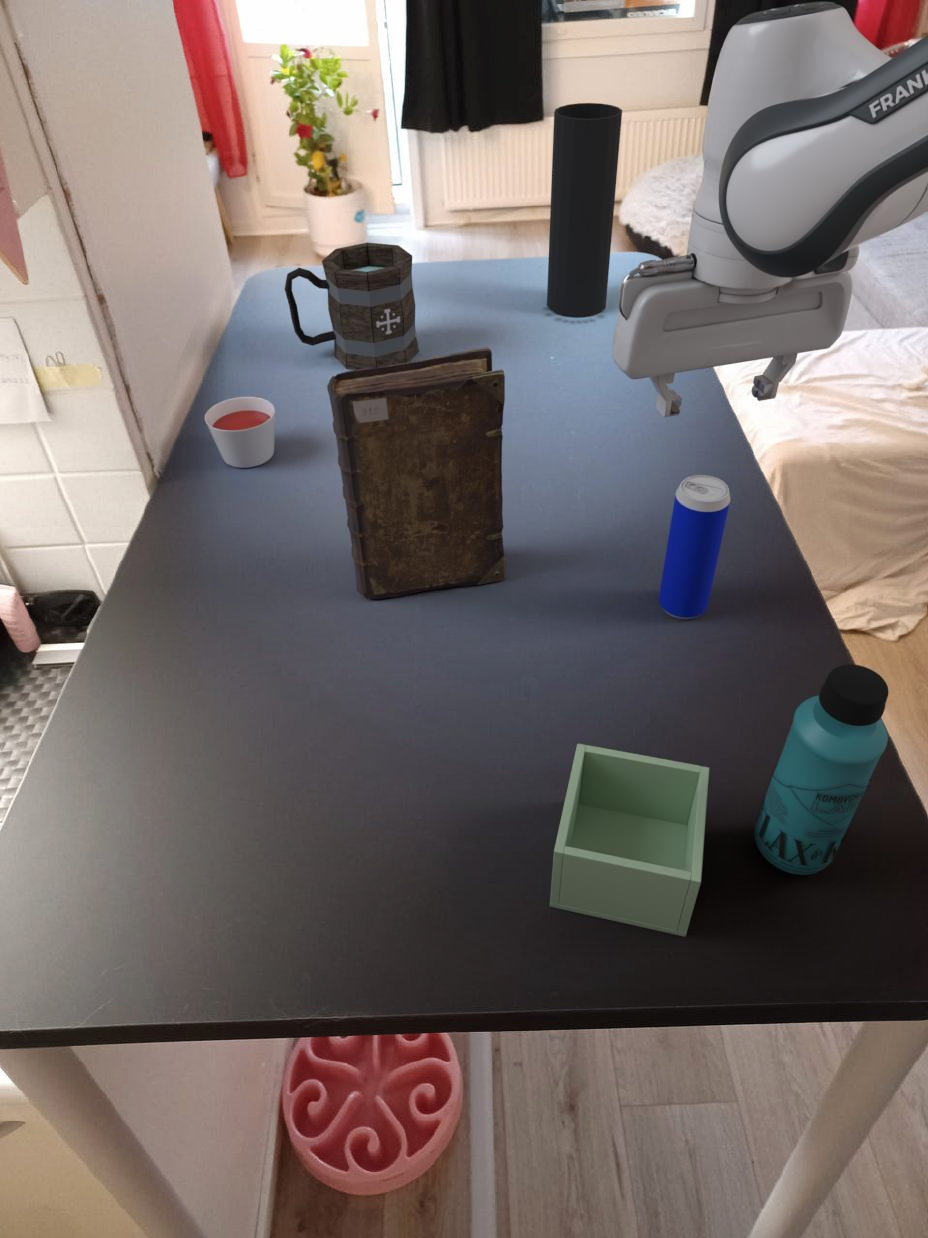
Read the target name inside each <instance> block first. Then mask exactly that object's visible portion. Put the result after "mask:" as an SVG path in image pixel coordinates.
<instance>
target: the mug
mask: <svg viewBox="0 0 928 1238" xmlns="http://www.w3.org/2000/svg"><path fill="white" fill-rule="evenodd" d="M321 264H322V268H323V271H324V272H323V273H324V276H325V279H321V278H320V277H318V276H317V275H316V274H315V273H313V272H312V271H311V270H308V269H305V268H302V267H297V268H295V269H293V270H292V271H290V272H288V273H287V274H286V280H285V284H284V292H285V296H286V299H287V303H288V306H289V307H288V308H289V312H290V318H291V319H290V320H291V322H292V326H293V331H294V332H295V335H296V336H297V337H298V339H299V340H300V342H301V343H303V344H306V345H309V346H313V347H314V346H317V345H319V344H322V343H326V342H331V341H334V342H333V344H334V345H333V346H334V347H333V350H334V351H333V353H334V357H335V359H337V361H338V362H339V363H340V364H341V365H342V366H343V367H344V368H345V369H346V370H351V371H353V370H358V369H365V368H378V367H384V366H390V365H396V364H402V363H408V362H412V360H413V359H414V357H415V356H416V355H417V354H418V352H419V351H420V349H419V345H418V340H417V331H416V300H415V293H414V288H413V272H412V271H413V255H412V254H411V253H410V252H409V251H407V250H406V249H404V248H403V247H401V246H400V245H399V244H389V243H377V242H363V243H358V244H353V245H348V246H343V247H338V248H335V249H334V250H332V252H330V253H329V254H327V256H325V258H323V259H322V260H321ZM298 277H301V278H303V279H306V280H308V281H309V282H310V283H311V284H312V285H313V286H314V287H317V289H321V290H323V289H324V290H327V308H328V309H327V311H328V314H329V315H328V316H329V319H330V322H331V327H332V330H331V331H327V332H322V333H319V334H317V335H314V336H312V335H311V336H310V335H308V334H305V332H304V330H303V329H302V327H301V322H300V321H301V320H300V316H299V310H298V305H297V302H296V299H295V295H294V293H293V280H295V279H297V278H298Z"/></svg>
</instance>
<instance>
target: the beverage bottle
mask: <svg viewBox="0 0 928 1238" xmlns="http://www.w3.org/2000/svg"><path fill="white" fill-rule="evenodd" d="M889 693H890V692H889V686H888V684H887V682H886V680H885V679H884V678H883V677H882V676H881V675H880V674H879V673H878V672H876V671H875V670H873V669H871V668H869V667H866V666H864V665H859V664H853V663H852V664H850V663H849V664H841V665H838V666H836V667H834V668H833V669H832V670H831V671H830V672H829V673H828V674H827V677H826V679H825V681H824V683H823V684H822V686H821V688H820V690H819V693H818V695H815V696H812V697H808V698H807V699H805V700H804V701H802V702H801V703H800V704H799V705H798V706H797V708H796V709H795V711H794V714H793V719H792V723H791V725H790V729H789V731H788V734H787V737H786V740H785V742H784V746H783V749H782V751H781V754H780V757H779V759H778V763H777V765H776V766H775V767H774V771H773V772H771V774H770V778H769V780H768V786H767V788H766V792H765V793H764V795H763V798H762V800H761V803H760V806H759V809H758V812H757V815H756V817H755V822H754V824H755V825H754V826H753V830H752V831H753V832H754V836H753V837H754V840H755V843H756V846H757V848H758V850H759V852H760V853H761V855H762V856H763V857H764V858H765V860H767V861H768V863H770V864H771V865H773V866H774V867H775V868H777V869H779V870H781V871H784V872H786V873H789V874H793V875H798V876H807V875H808V876H809V875H813V874H817V873H819V872H821V871H823V870H825V869H827V868H828V867H830V865H832V864H833V863H834V861H835V859H836V857H837V855H838V854H839V852H840V850H841V847H842V846H843V844H844V842H845V840H846V837H847V835H848V833H849V831H848V828H849V826H850V823H851V821H852V820H853V817H854V816H855V814H856V812H857V811H856V810H858V808H859V805H860V804H861V803H862V802H863V801H864V799H862V798H863V797H864V794H865V792H866V790H867V791H868V789H867V788H869V787H870V786H871V784H870V782H871V781H872V779H871V777H872V775H873V773H874V771H875V769H876V767H877V764H878V763H879V760H880V758H881V756H882V755H883V753H884V752H885V750H886V748H887V746H888V742H889V741H888V740H889V734H888V731H887V727H886V725H885V723H884V722H883V720H882V719H881V718H882V717H883V715H884V712H885V709H886V704H887V701H888V697H889ZM861 800H862V801H861ZM846 832H847V833H846Z"/></svg>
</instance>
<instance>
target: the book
mask: <svg viewBox="0 0 928 1238" xmlns="http://www.w3.org/2000/svg"><path fill="white" fill-rule="evenodd" d="M505 385H506V376H505V371H504V370H503V368H500V369H495V370H493V354H492V349H491V348H490V347H489V346H486V347H479V348H470V349H465V350H464V351H459V352H453V353H449V354H444V355H439V356H434V357H429V358H424V359H423V358H422V359H418V360H414V361H410V362H408V363H402V364H396V365H390V366H384V367H378V368H365V369H358V370H348V371H344V372H340V373H337V374H336V375H333V376H332V377H330V379H329V382H328V383H327V386H326V389H327V393H328V397H329V402H330V408H331V414H332V419H333V420H332V429H333V430H332V431H333V433H334V435H335V439H336V447H337V453H338V454H337V464H338V467H339V469H340V475H341V482H342V497H343V499H344V501H345V507H346V514H347V518H346V519H347V520H346V525H347V528H348V531H349V535H350V536H349V537H350V541H351V557H352V559H353V562H354V569H355V570H354V571H355V588H356V591H357V592H358V594H359V595H360V596H362V597H363V598H365V599H368V598H369V599H372V600H378V599H379V600H380V599H387V598H397V597H400V596H403V595H407V594H414V593H420V592H425V591H426V592H427V591H432V590H438V589H445V588H446V589H447V588H452V587H460V586H461V587H462V586H474V585H477V586H478V585H484V584H490V583H494V582H501V581H503V580H505V579H506V577H507V564H506V557H505V549H504V538H503V530H504V520H503V519H504V517H503V503H504V502H503V501H504V498H503V469H502V467H503V440H504V439H503V438H504V436H503V424H504V410H505V409H504V408H505V401H506V386H505Z"/></svg>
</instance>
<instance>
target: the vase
mask: <svg viewBox="0 0 928 1238" xmlns="http://www.w3.org/2000/svg"><path fill="white" fill-rule="evenodd" d="M622 118H623V109H622V108H620V107H619V106H616V105H612V104H609V103H608V104H607V103H599V102H598V103H597V102H583V103H582V102H578V103H571V104H565V105H562V106H558V107H557V108H555V109H554V112H553V132H552V133H553V135H552V157H551V159H552V161H551V162H552V163H551V189H550V210H549V211H550V212H549V213H550V214H549V218H550V219H549V239H548V266H547V287H546V288H547V290H546V306H547V308H548V309H549V310H550V311H551V312H553V313H554V314H556V315H560V316H562V317H569V318H586V317H591V316H595V315H597V314H601V313H602V312H603V311H604V310H605V309H606V307H607V298H608V297H607V296H608V285H609V284H608V283H609V272H610V262H611V250H612V249H611V248H612V239H613V238H612V237H613V225H614V214H615V202H616V201H615V200H616V189H617V177H618V165H619V154H620V153H619V152H620V142H621V129H622Z"/></svg>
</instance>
